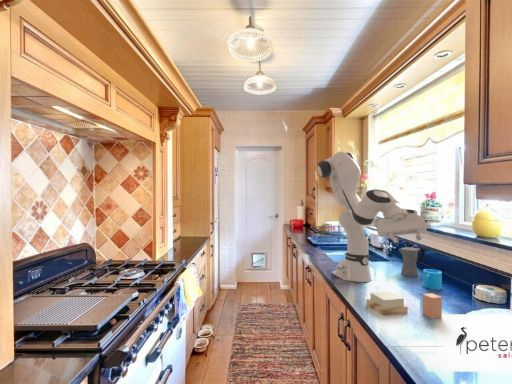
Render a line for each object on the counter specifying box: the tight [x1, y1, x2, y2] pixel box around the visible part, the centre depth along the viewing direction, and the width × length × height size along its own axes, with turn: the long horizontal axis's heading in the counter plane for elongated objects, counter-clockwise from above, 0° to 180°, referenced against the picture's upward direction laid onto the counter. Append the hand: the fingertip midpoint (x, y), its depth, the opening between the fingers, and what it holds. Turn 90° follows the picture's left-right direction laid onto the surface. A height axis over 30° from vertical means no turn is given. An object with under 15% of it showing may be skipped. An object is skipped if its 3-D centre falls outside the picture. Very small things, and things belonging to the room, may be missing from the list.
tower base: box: [366, 298, 409, 316], centre depth 123 cm, size 11×11×3 cm
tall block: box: [422, 292, 443, 320], centre depth 116 cm, size 4×4×8 cm
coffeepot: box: [398, 243, 426, 278], centre depth 175 cm, size 15×9×18 cm, turn 90°
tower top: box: [369, 290, 405, 308], centre depth 123 cm, size 9×9×3 cm
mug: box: [422, 268, 443, 291], centre depth 151 cm, size 12×8×8 cm
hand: (408, 240), depth 124 cm, fingers open, 8 cm apart
